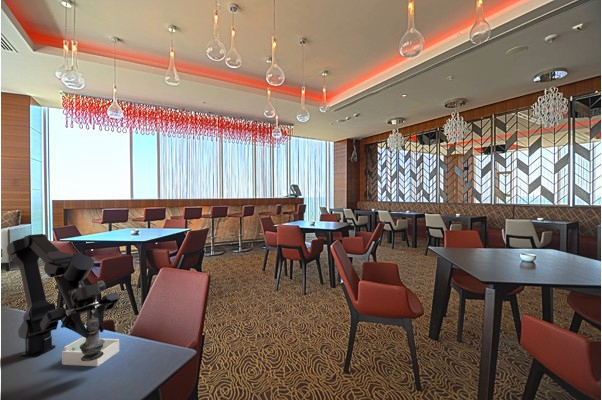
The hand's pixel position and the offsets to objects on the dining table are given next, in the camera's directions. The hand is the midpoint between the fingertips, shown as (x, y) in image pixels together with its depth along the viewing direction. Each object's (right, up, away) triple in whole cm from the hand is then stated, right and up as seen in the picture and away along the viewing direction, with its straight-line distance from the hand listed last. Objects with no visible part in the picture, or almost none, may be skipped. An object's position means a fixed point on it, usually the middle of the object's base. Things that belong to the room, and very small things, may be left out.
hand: (95, 334), depth 82 cm
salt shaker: (-1, -7, +1) cm, 7 cm away
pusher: (-12, -11, +11) cm, 19 cm away
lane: (-8, -12, +10) cm, 18 cm away
